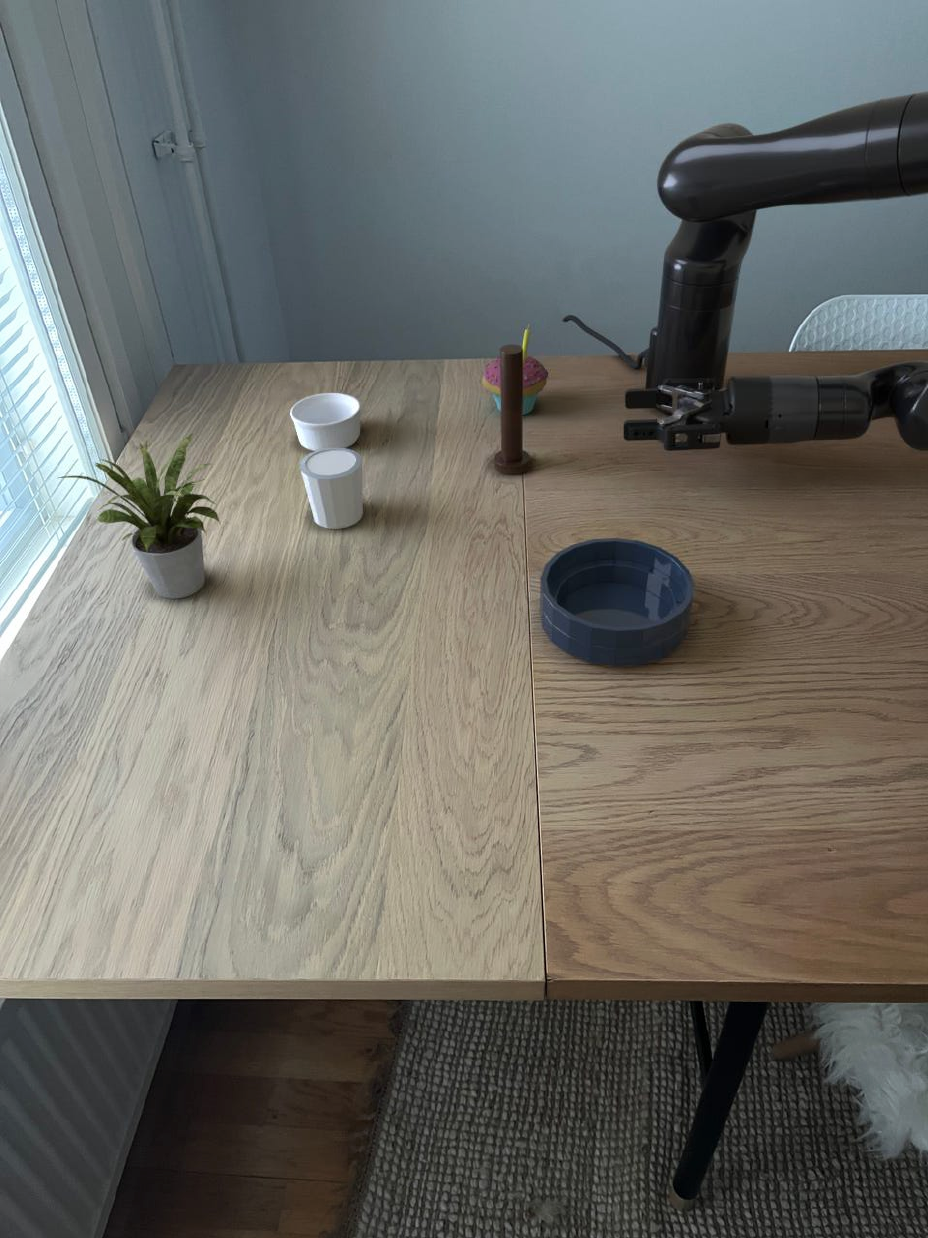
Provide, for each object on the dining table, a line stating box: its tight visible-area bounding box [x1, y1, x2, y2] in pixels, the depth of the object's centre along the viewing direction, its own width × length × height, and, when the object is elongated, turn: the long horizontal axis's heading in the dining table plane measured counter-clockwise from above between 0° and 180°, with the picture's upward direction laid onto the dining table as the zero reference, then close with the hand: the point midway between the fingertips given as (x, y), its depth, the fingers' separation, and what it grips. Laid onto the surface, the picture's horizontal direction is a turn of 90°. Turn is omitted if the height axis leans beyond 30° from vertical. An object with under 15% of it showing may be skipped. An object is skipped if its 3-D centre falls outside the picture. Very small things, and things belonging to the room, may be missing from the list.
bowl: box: [539, 537, 696, 668], centre depth 91 cm, size 14×14×5 cm
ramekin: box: [289, 392, 361, 452], centre depth 121 cm, size 9×9×4 cm
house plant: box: [58, 432, 221, 600], centre depth 94 cm, size 14×14×16 cm
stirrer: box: [493, 343, 531, 476], centre depth 111 cm, size 4×4×15 cm
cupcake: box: [482, 323, 549, 416], centre depth 123 cm, size 9×8×12 cm
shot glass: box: [299, 447, 364, 530], centre depth 106 cm, size 7×7×7 cm
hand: (624, 414), depth 109 cm, fingers open, 8 cm apart
